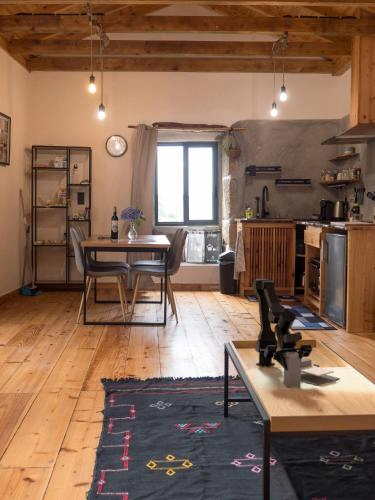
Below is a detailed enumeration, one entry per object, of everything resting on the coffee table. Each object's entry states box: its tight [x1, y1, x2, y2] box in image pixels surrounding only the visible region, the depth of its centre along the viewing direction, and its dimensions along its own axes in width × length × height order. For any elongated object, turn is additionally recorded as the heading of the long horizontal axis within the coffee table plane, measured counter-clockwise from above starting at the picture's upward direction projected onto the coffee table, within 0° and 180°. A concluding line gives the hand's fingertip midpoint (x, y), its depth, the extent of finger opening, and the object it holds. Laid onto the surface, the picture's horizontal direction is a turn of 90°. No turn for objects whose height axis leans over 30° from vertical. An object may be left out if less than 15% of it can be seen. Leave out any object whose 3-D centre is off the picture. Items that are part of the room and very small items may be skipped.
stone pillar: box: [283, 352, 302, 388], centre depth 209 cm, size 5×5×13 cm
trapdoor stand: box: [301, 363, 341, 386], centre depth 220 cm, size 17×15×4 cm
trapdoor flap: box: [301, 357, 335, 376], centre depth 220 cm, size 14×10×3 cm
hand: (293, 369), depth 208 cm, fingers closed on stone pillar, 5 cm apart
